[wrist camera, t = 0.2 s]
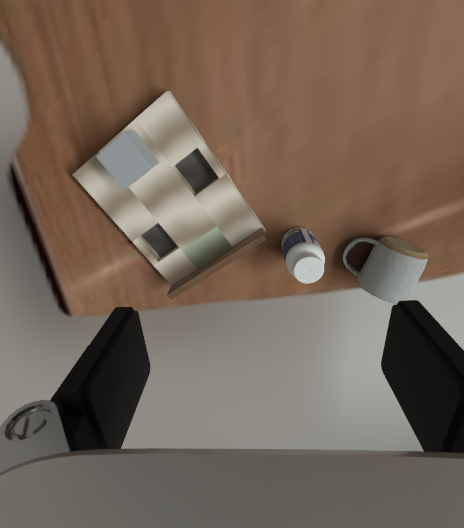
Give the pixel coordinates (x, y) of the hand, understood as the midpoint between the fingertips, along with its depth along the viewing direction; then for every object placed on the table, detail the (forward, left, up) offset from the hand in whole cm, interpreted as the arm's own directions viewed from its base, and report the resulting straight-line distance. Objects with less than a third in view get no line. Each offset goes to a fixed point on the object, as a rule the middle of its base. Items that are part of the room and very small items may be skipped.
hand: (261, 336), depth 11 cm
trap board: (-3, -12, -37) cm, 39 cm away
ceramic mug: (+23, +9, -37) cm, 44 cm away
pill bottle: (+13, 0, -37) cm, 39 cm away
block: (-11, -12, -35) cm, 39 cm away
